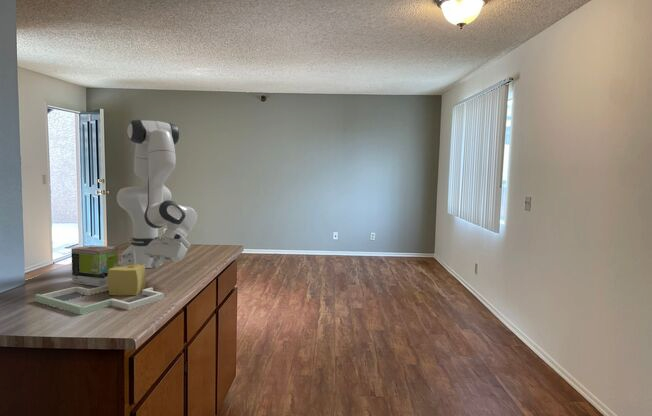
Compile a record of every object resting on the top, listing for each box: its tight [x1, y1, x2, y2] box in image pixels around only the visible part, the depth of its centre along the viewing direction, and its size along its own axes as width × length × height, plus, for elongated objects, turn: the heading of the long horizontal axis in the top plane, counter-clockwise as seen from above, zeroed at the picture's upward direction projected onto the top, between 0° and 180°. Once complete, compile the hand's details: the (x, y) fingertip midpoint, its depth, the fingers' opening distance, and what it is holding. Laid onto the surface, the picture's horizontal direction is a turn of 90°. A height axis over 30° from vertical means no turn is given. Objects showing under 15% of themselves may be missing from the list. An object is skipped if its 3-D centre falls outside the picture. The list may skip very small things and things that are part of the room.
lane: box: [34, 284, 165, 315], centre depth 146 cm, size 35×28×2 cm
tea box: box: [70, 244, 119, 287], centre depth 167 cm, size 15×10×15 cm
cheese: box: [107, 264, 147, 296], centre depth 155 cm, size 10×11×10 cm
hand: (153, 266), depth 165 cm, fingers closed
